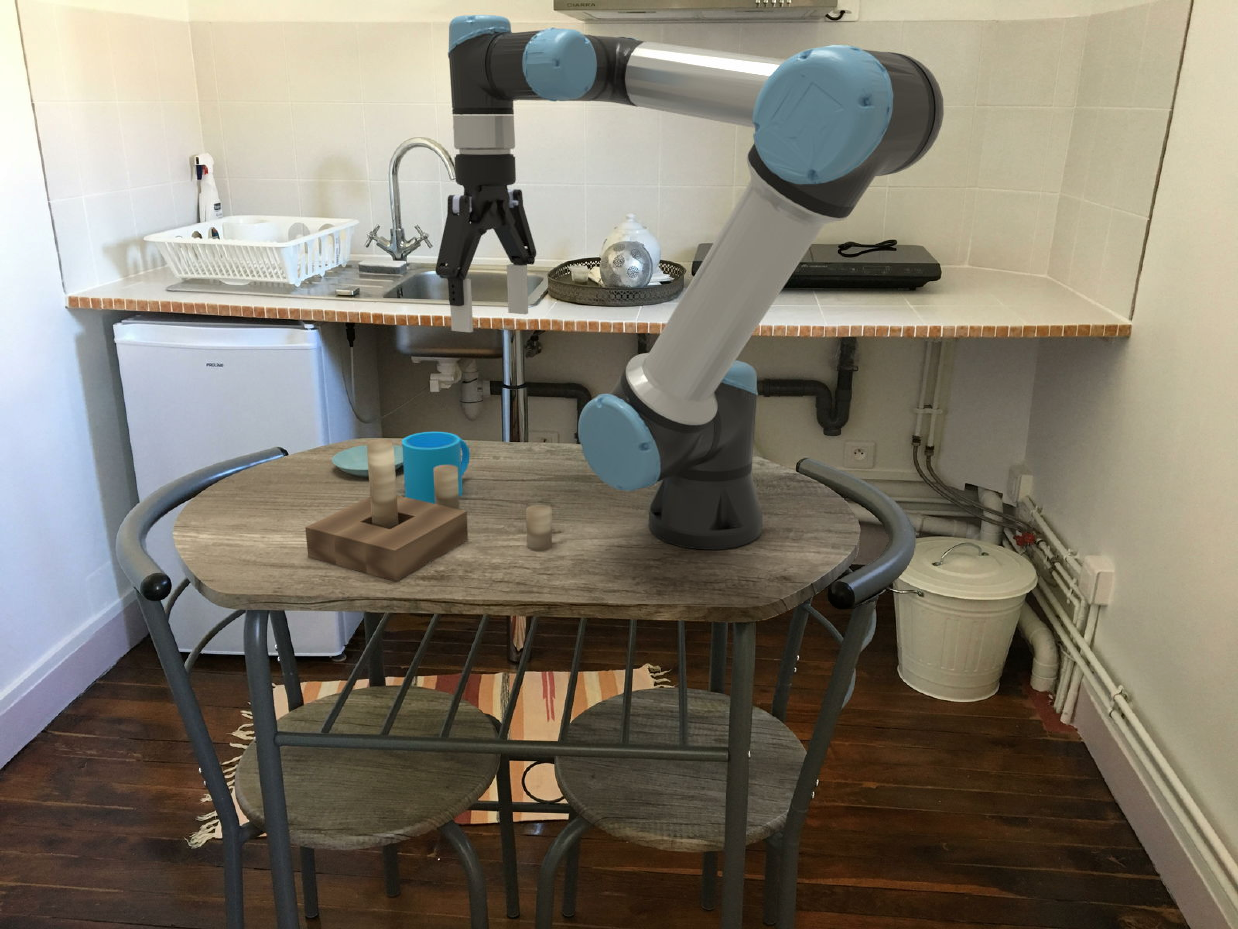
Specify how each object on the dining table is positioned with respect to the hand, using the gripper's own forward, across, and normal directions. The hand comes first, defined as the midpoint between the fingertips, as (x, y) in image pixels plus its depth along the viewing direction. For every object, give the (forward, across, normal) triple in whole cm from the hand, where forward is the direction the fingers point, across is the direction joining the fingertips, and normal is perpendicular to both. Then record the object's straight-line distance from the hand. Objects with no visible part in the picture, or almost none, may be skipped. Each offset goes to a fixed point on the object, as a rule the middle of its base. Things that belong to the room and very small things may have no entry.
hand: (491, 322), depth 132 cm
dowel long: (+26, +18, -6) cm, 32 cm away
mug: (+26, -3, -11) cm, 29 cm away
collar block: (+26, +18, -5) cm, 32 cm away
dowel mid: (+26, +6, -5) cm, 27 cm away
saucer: (+26, -5, -26) cm, 37 cm away
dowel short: (+26, +8, +11) cm, 30 cm away
